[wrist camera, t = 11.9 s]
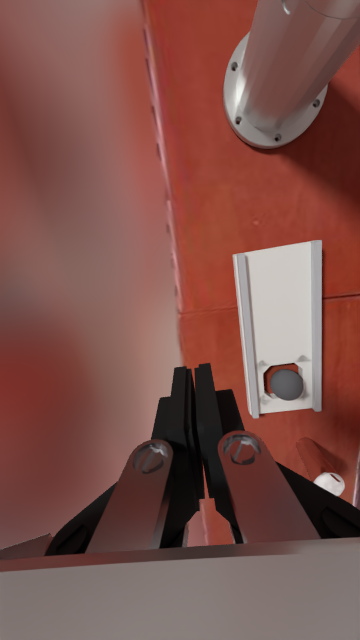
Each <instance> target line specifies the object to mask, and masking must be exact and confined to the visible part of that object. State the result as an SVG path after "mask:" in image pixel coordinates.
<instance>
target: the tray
mask: <svg viewBox="0 0 360 640" xmlns="http://www.w3.org/2000/svg"><path fill="white" fill-rule="evenodd" d="M233 263H234V273H235V283H236V293H237V303H238V313H239V323H240V333H241V342H242V352H243V362H244V372H245V382H246V392H247V402H248V410H249V413H250V415H252V417H253V418H259V414H261V413H270V412H280V411H289V410H298V409H307V408H313V409H314V411H315V412H317V411H321V374H322V240H316V241H309V242H303V243H298V244H292V245H286V246H280V247H274V248H269V249H263V250H257V251H251V252H245V253H240V254H234V255H233ZM288 363H295V364H297V365H298V367H299V376H300V378H301V379H302V381H303V386H304V388H303V392H302V394H301V395H300V397H298V398H297V399H295V400H291V401H286V400H282V399H280V398H278V397H277V396H276V395H275V394H274V393H273V394H269V393H268V392H266V391H265V390H264V382H263V373H264V372H265V371H266V370H267V369H268V368H269V367H270V366H272V365H280V364H288Z"/></svg>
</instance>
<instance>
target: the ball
mask: <svg viewBox="0 0 360 640" xmlns="http://www.w3.org/2000/svg"><path fill="white" fill-rule="evenodd" d="M270 386H271V389H272V391H273V393H274V394H275V395H276V396H277V397H278V398H280V399H282V400H286V401H291V400H295V399H297V398H298V397H300V395H301V394H302V392H303V388H304V386H303V381H302V379H301V378H300V376H299V375H298V374H297V373H295V372H294V371H291V370H287V369H283V370H279V371H277V372H275V373H274V374H273V376H272V377H271V380H270Z"/></svg>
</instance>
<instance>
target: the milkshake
mask: <svg viewBox="0 0 360 640" xmlns="http://www.w3.org/2000/svg"><path fill="white" fill-rule="evenodd" d="M296 448H297V450H298V452H299V455H300V457H301V459H302V461H303V463H304V466H305V468H306V470H307V472H308V475H309V477H310V479H311V482H313V483H315V484H316V485H318V486H320V487H322V488H323V489H325V490H327V491H329V492H331V493H332V494H334V495H336V496H339V495H340V494H341V493H342V491H343V490H344V487H345V484H344V481H343V479H342V478H341V477H340V475H339V474H338V473H337V472H336V470H335V469H334V468H333V467H332V466H331V464H330V463H329V462H328V461H327V460H326V458H325V457H324V456H323V455H322V453H321V452H320V451H319V449H318V448H317V447H316V445H315V444H314V443H313V442H312V440H311V439H309V438H302V439H300V440H299V441H297V443H296Z"/></svg>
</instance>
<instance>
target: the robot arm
mask: <svg viewBox="0 0 360 640" xmlns="http://www.w3.org/2000/svg"><path fill="white" fill-rule="evenodd" d="M359 44H360V0H258V4H257V8H256V12H255V15H254V19H253V23H252V26H251V30H250V31H249V33H248V34H247V35H246V36H245V37H244V38H243V39H242V40H241V41H240V43H239V44H238V46H237V47H236V49H235V50H234V52H233V55H232V57H231V59H230V61H229V64H228V67H227V71H226V74H225V80H224V86H223V103H224V109H225V113H226V117H227V120H228V122H229V124H230V126H231V128H232V129H233V131H234V132H235V133H236V135H237V136H238V137H239V138H241V139H242V140H243V141H244V142H246V143H248V144H249V145H251V146H254V147H257V148H264V149H271V148H278V147H281V146H283V145H286V144H288V143H290V142H291V141H293V140H295V139H296V138H297V137H299V136H300V135H301V134H302V133H303V132H304V131H305V130H306V129H307V128H308V127H309V126H310V125H311V123H312V122H313V120H314V119H315V118H316V116H317V115H318V113H319V111H320V109H321V107H322V105H323V102H324V99H325V96H326V93H327V88H328V83H329V81H330V80H331V79H332V78H333V76H334V75H335V74H336V73H337V72H338V70H339V69H340V68H341V67H342V65H343V64H344V63H345V62H346V60H347V59H348V58H349V57H350V55H351V54H352V53H353V52H354V51H355V49H356V48H357V47H358V46H359ZM232 70H234V71H232ZM313 106H314V107H313ZM237 122H238V123H239V125H237V124H236V123H237ZM275 139H277V142H276V141H275ZM203 465H204V471H205V476H206V482H207V488H208V493H209V498H214V500H215V506H216V510H217V511H218V512H219V513H220V514H221V515H222V516H223V517H224V518H225V519H226V520H228V521H229V526H230V531H231V534H232V538H233V542H234V544H228V545H212V546H195V547H187V541H188V533H189V523H188V521H189V520H190V519H191V518H192V516H193V515H194V514H195V513H196V511H200V506H199V499H205V493H204V476H203ZM0 640H360V510H358V509H357V508H356V507H354V506H353V505H351V504H350V503H348V502H346V501H345V500H343V499H341V498H339V497H338V496H336V495H334V494H332V493H331V492H329V491H327V490H325V489H323V488H322V487H320V486H318V485H316V484H315V483H313V482H311V481H309V480H308V479H306V478H304V477H302V476H301V475H299V474H297V473H295V472H294V471H292V470H290V469H288V468H286V467H285V466H283V465H281V464H279V463H278V462H276V461H275V460H274V459H273V457H272V455H271V454H270V452H269V450H268V448H267V447H266V445H265V443H264V442H263V441H262V440H261V438H259V437H258V436H257V435H255V434H253V433H251V432H248V431H245V429H244V426H243V423H242V420H241V417H240V413H239V410H238V407H237V404H236V400H235V397H234V394H233V391H232V389H228V390H220V391H215V387H214V382H213V376H212V371H211V365H210V363H206V364H199V368H195V388H194V382H193V376H192V371H191V369H187V367H186V366H184V367H176V368H174V375H173V383H172V391H171V396H170V397H162V398H160V400H159V404H158V409H157V414H156V418H155V423H154V428H153V432H152V437H151V440H149V441H146V442H143V443H142V444H140V445H139V446H137V447H136V448H135V449H134V450H133V452H132V453H131V455H130V456H129V459H128V461H127V463H126V465H125V467H124V469H123V471H122V474H121V476H120V478H119V480H118V481H117V482H116V483H115V484H114V485H113V486H111V487H110V488H109V489H108V490H107V491H105V492H104V493H103V494H102V495H101V496H99V497H98V498H97V499H96V500H95V501H93V502H92V503H91V504H90V505H89V506H87V507H86V508H85V509H84V510H82V511H81V512H80V513H79V514H78V515H77V516H75V517H74V518H73V519H72V520H70V521H69V522H68V523H67V524H66V525H65V526H64V527H63V528H62V529H61V530H60V531H59V532H58V533H57V534H56V535H55V536H54V537H52V536H51V534H50V533H48V534H46V535H42V536H40V537H36V538H34V539H30V540H27V541H24V542H21V543H18V544H15V545H12V546H9V547H6V548H3V549H0Z"/></svg>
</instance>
